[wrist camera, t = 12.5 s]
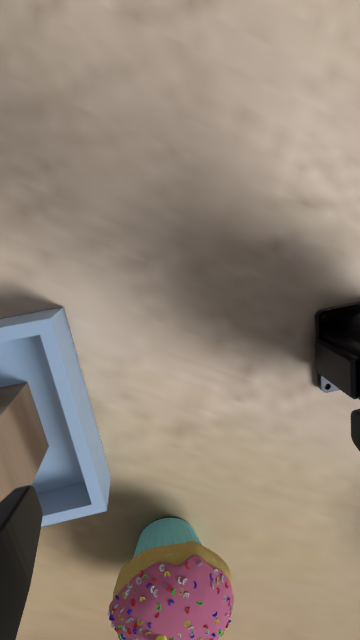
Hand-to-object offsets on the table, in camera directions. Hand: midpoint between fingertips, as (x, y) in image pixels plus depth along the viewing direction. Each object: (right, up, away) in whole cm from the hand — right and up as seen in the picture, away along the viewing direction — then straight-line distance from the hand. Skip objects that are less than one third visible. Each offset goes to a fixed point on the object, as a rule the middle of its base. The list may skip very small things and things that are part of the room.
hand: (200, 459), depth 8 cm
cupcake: (-2, -14, +17) cm, 23 cm away
